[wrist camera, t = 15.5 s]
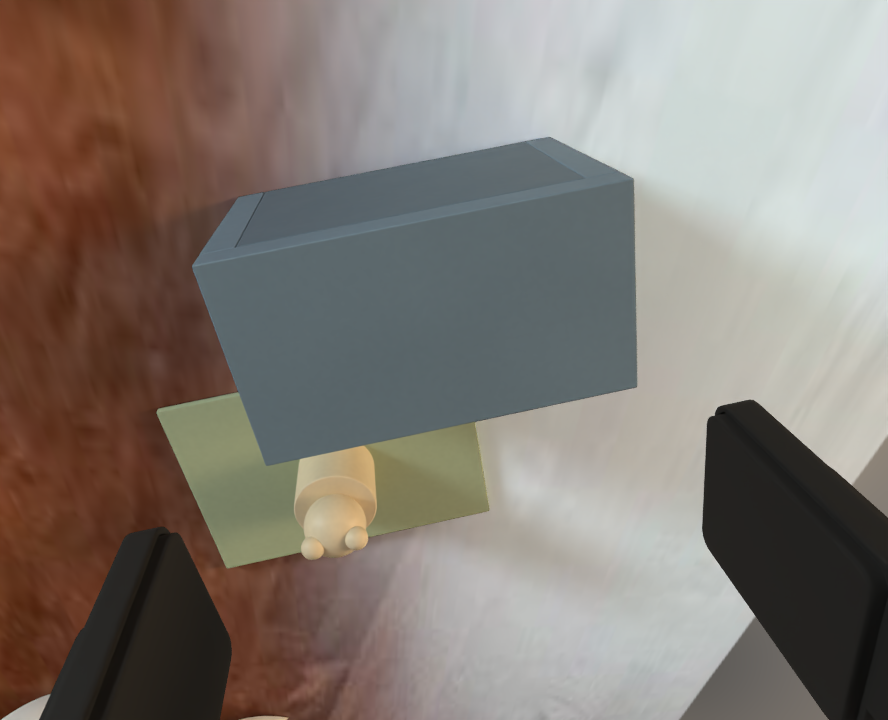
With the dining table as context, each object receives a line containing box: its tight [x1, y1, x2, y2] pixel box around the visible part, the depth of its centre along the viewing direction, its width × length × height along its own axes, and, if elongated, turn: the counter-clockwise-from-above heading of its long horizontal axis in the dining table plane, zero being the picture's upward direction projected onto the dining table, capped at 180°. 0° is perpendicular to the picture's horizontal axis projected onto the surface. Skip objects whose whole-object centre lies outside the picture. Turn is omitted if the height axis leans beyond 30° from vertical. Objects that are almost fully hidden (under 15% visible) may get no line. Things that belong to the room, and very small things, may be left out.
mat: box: [156, 392, 489, 568], centre depth 44 cm, size 20×14×1 cm
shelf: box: [192, 137, 637, 466], centre depth 33 cm, size 18×10×12 cm, turn 99°
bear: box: [294, 446, 377, 560], centre depth 40 cm, size 5×6×8 cm
